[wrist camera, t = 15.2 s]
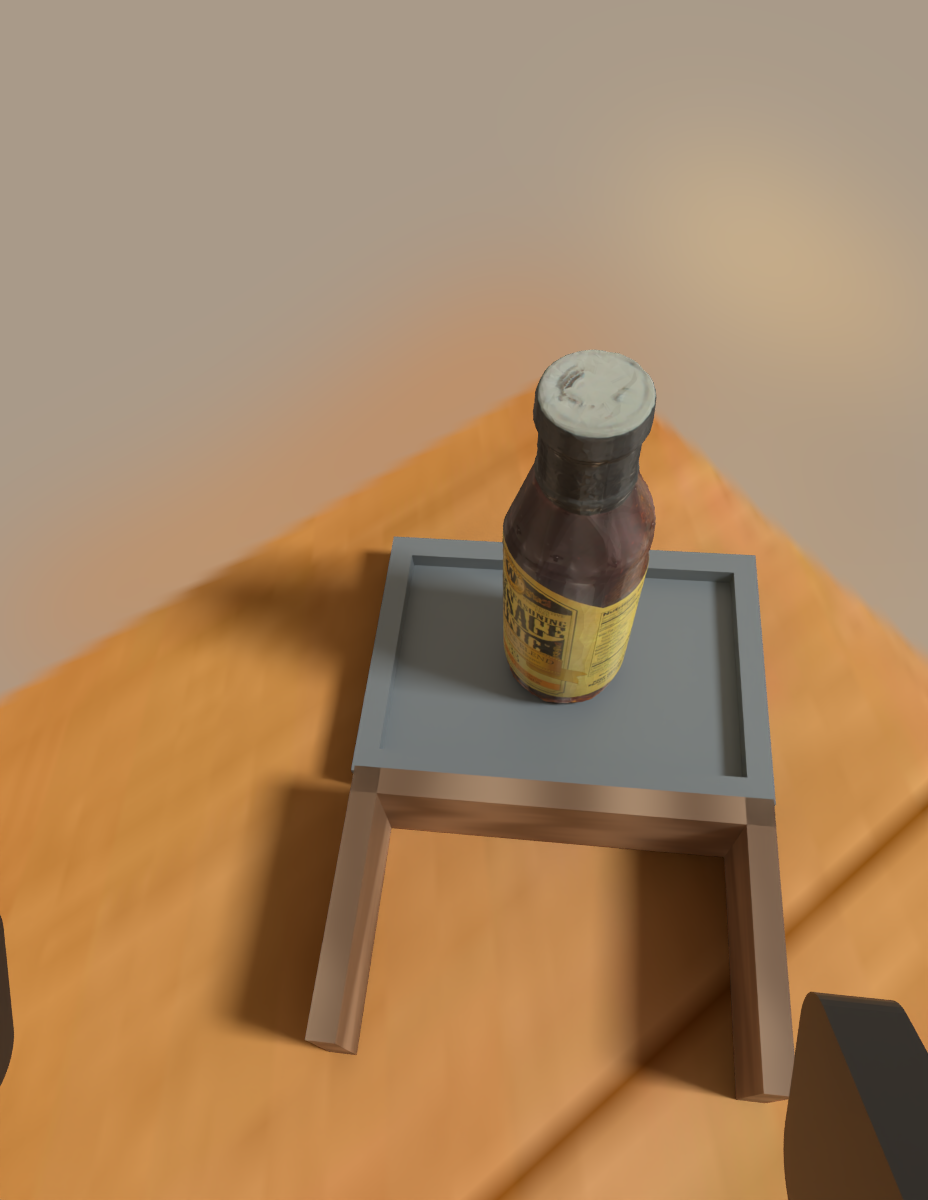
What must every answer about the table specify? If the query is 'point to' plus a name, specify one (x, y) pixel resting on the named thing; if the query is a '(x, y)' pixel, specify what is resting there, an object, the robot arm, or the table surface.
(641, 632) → the tray
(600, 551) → the sauce bottle
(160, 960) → the table surface
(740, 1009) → the holder
